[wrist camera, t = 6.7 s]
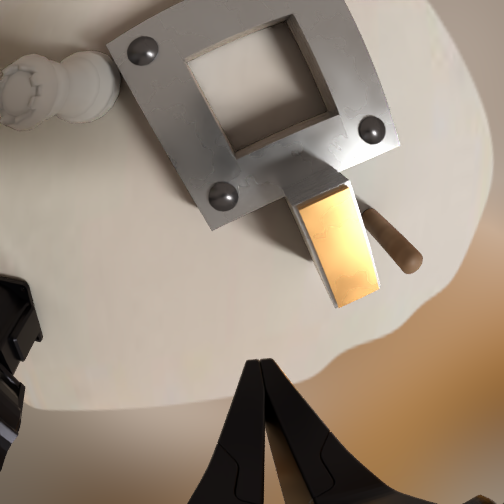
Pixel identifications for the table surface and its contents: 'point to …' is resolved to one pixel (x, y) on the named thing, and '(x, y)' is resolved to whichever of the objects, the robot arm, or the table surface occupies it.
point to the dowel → (392, 241)
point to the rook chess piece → (58, 89)
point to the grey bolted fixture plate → (279, 144)
